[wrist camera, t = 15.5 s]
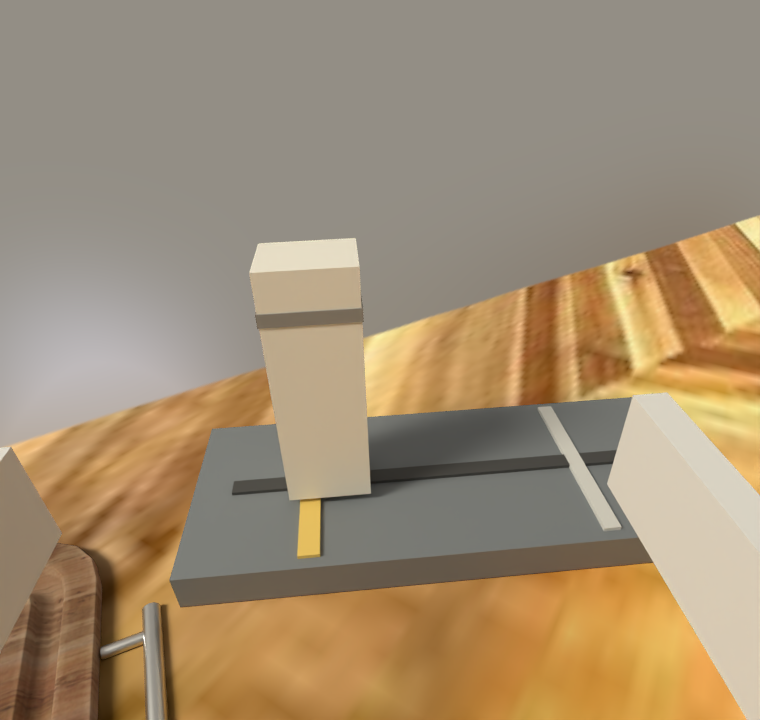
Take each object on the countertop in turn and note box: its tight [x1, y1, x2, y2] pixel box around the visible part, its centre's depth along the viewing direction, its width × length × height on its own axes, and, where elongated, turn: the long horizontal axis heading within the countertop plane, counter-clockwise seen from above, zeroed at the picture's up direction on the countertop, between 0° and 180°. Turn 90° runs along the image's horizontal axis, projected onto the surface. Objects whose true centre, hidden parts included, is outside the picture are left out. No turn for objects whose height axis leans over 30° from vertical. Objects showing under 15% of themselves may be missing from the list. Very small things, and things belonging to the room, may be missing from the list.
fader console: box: [170, 397, 653, 607], centre depth 28 cm, size 26×10×2 cm, turn 95°
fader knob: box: [249, 238, 371, 500], centre depth 23 cm, size 4×3×12 cm
